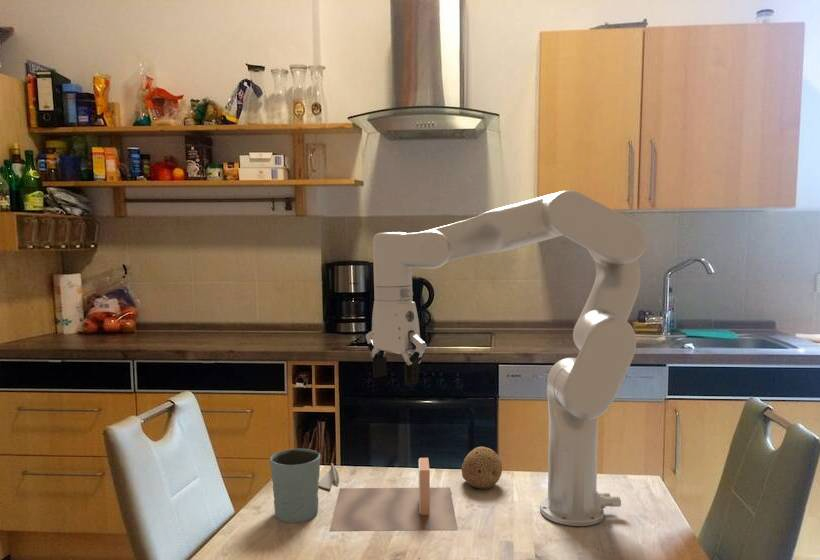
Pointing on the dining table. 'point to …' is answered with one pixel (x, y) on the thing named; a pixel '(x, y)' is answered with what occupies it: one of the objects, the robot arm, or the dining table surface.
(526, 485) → the dining table surface
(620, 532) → the dining table surface
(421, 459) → the tile
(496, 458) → the natural sponge
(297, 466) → the grey green cup
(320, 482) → the ceramic fragment
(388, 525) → the board
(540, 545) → the dining table surface
